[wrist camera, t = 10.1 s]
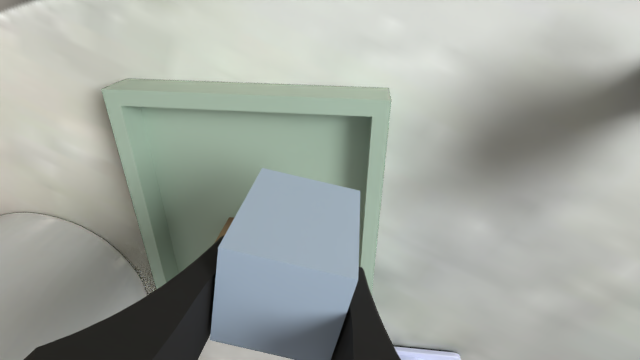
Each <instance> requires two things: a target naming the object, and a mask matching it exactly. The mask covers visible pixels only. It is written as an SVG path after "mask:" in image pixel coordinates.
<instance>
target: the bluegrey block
mask: <svg viewBox="0 0 640 360" xmlns="http://www.w3.org/2000/svg"><path fill="white" fill-rule="evenodd" d="M359 229H360V191H359V190H355V189H351V188H346V187H342V186H338V185H333V184H329V183H325V182H321V181H316V180H312V179H308V178H303V177H299V176H295V175H291V174H286V173H282V172H278V171H273V170H269V169H265V168H262V169H261V171H260V173H259V174H258V176H257V178H256V180H255V182H254V184H253V185H252V187H251V189H250V191H249V193H248V194H247V196H246V198H245V200H244V202H243V203H242V205H241V207H240V209H239V211H238V212H237V214H236V216H235V218H234V220H233V221H232V223H231V225H230V227H229V229H228V230H227V232H226V234H225V236H224V238H223V240H222V241H221V243H220V245H219V247H218V256H217V267H216V278H215V289H214V301H213V312H212V323H211V335H210V340H212V341H217V342H221V343H225V344H230V345H234V346H238V347H243V348H247V349H251V350H255V351H260V352H264V353H268V354H273V355H277V356H281V357H286V358H290V359H294V360H331V357H332V354H333V352H334V349H335V346H336V343H337V340H338V337H339V334H340V331H341V328H342V325H343V323H344V320H345V317H346V314H347V311H348V308H349V305H350V302H351V299H352V297H353V294H354V291H355V288H356V285H357V282H358V271H359Z"/></svg>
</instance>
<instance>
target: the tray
mask: <svg viewBox="0 0 640 360" xmlns="http://www.w3.org/2000/svg"><path fill="white" fill-rule="evenodd" d="M101 90H102V94H103V97H104V101H105V105H106V108H107V112H108V116H109V119H110V123H111V126H112V130H113V134H114V137H115V141H116V145H117V148H118V152H119V155H120V159H121V163H122V166H123V170H124V174H125V177H126V181H127V184H128V188H129V192H130V195H131V199H132V203H133V206H134V210H135V213H136V217H137V221H138V224H139V228H140V232H141V235H142V239H143V243H144V246H145V250H146V253H147V257H148V261H149V264H150V268H151V272H152V275H153V279H154V282H155V286H156V290H157V289H158V288H159V287H161V286H162V285H164V284H165V283H167V282H168V281H169V280H171V279H172V278H173V277H175V276H176V275H177V274H179V273H180V272H181V271H183V270H184V269H185V268H186V267H188V266H189V265H190V264H191V263H192V262H194V261H195V260H196V259H197V258H198V257H200V256H201V255H202V254H203V253H204V252H205V251H206V250H207V249H209V248H210V247H211V246H212V245H213V244H214V243H215V241H216V239H217V237H218V236H219V234H220V232H221V230H222V229H223V227H224V225H225V224H226V222H227V220H228V218H229V217H234V218H235V216H236V214H237V212H238V211H239V209H240V207H241V205H242V203H243V202H244V200H245V198H246V196H247V194H248V193H249V191H250V189H251V187H252V185H253V184H254V182H255V180H256V178H257V176H258V174H259V173H260V171H261V169H262V168H265V169H269V170H273V171H278V172H282V173H286V174H291V175H295V176H299V177H303V178H308V179H312V180H316V181H321V182H325V183H329V184H333V185H338V186H342V187H346V188H351V189H355V190H359V191H360V229H359V267H362V268H363V269H364V272H365V276H366V279H367V283H368V286H369V289H370V292H371V295H372V286H373V276H374V267H375V257H376V247H377V237H378V227H379V217H380V207H381V198H382V188H383V178H384V168H385V158H386V148H387V139H388V129H389V119H390V109H391V96H390V91H389V88H374V87H346V86H318V85H290V84H262V83H234V82H206V81H178V80H150V79H125V80H122V81H120V82H118V83H115V84H113V85H110V86H108V87H105V88H103V89H101Z"/></svg>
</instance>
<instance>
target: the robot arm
mask: <svg viewBox="0 0 640 360" xmlns="http://www.w3.org/2000/svg"><path fill="white" fill-rule="evenodd" d="M223 238H224V236H222V237H220V238H219V239H218V240H217V241H216V242H215V243H214V244H213V245H212V246H211V247H210V248H209V249H207V250H206V251H205V252H204V253H203V254H202V255H201V256H200V257H198V258H197V259H196V260H195V261H194V262H192V263H191V264H190V265H189V266H188V267H186V268H185V269H184V270H183V271H181V272H180V273H179V274H177V275H176V276H175V277H173V278H172V279H171V280H169V281H168V282H167V283H165V284H164V285H162V286H161V287H159V288H158V289H157V290H155V291H154V292H152V293H150V294H149V295H147V296H146V297H144V298H142V299H141V300H139V301H138V302H136V303H134V304H132V305H130V306H129V307H127V308H125V309H123V310H122V311H120V312H118V313H116V314H114V315H112V316H110V317H108V318H106V319H104V320H102V321H100V322H98V323H96V324H93V325H91V326H89V327H87V328H85V329H83V330H80V331H78V332H76V333H73V334H71V335H68V336H66V337H63V338H61V339H58V340H55V341H53V342H50V343H47V344H45V345H42V346H39V347H36V348H35V349H34V350H33V351H32V352H31V353H30V354H29V355H28V356H27V357H26V358H25V359H24V360H198V358H199V356H200V354H201V352H202V350H203V348H204V346H205V344H206V342H207V340H208V338H209V336H210V334H211V323H212V312H213V301H214V289H215V278H216V267H217V256H218V247H219V245H220V243H221V241H222V240H223ZM331 360H461V358H460V355H459V354H457V353H454V352H444V351H434V350H425V349H415V348H405V347H395V346H393V344H392V342H391V340H390V338H389V336H388V334H387V332H386V330H385V328H384V325H383V323H382V321H381V319H380V316H379V314H378V311H377V309H376V306H375V303H374V301H373V298H372V295H371V292H370V289H369V286H368V283H367V279H366V276H365V272H364V269H363V268H362V267H359V271H358V282H357V285H356V288H355V291H354V294H353V297H352V299H351V302H350V305H349V308H348V311H347V314H346V317H345V320H344V323H343V325H342V328H341V331H340V334H339V337H338V340H337V343H336V346H335V349H334V352H333V354H332V357H331Z"/></svg>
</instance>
